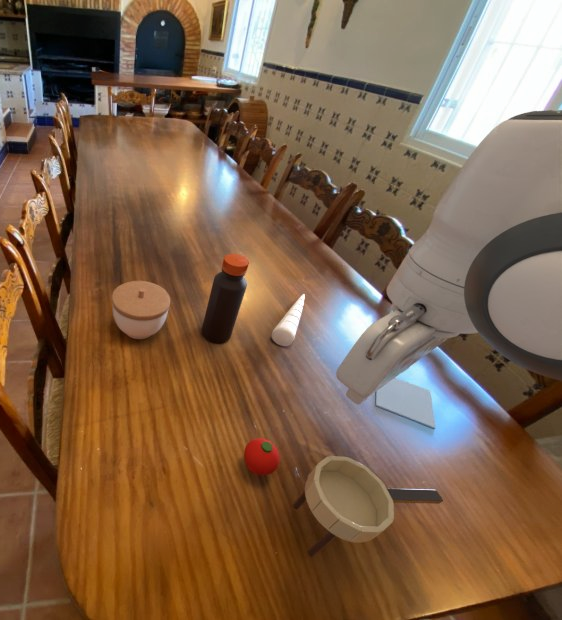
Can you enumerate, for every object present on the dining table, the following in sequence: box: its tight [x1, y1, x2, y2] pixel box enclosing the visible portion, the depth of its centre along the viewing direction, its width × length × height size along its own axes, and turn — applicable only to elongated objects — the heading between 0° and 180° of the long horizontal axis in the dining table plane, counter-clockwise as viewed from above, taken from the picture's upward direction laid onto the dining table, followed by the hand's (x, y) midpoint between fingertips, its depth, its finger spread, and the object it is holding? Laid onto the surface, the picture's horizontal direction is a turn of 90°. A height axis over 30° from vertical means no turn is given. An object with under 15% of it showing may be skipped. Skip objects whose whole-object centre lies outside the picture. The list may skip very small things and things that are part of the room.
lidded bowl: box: [111, 280, 171, 340], centre depth 79 cm, size 13×13×11 cm
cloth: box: [375, 377, 436, 430], centre depth 71 cm, size 10×10×1 cm
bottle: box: [201, 253, 250, 344], centre depth 76 cm, size 7×7×20 cm
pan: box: [292, 455, 444, 558], centre depth 48 cm, size 16×9×12 cm, turn 91°
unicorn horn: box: [271, 293, 306, 347], centre depth 87 cm, size 5×24×5 cm, turn 143°
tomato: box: [243, 437, 281, 476], centre depth 57 cm, size 5×5×6 cm
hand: (376, 382), depth 44 cm, fingers open, 8 cm apart
